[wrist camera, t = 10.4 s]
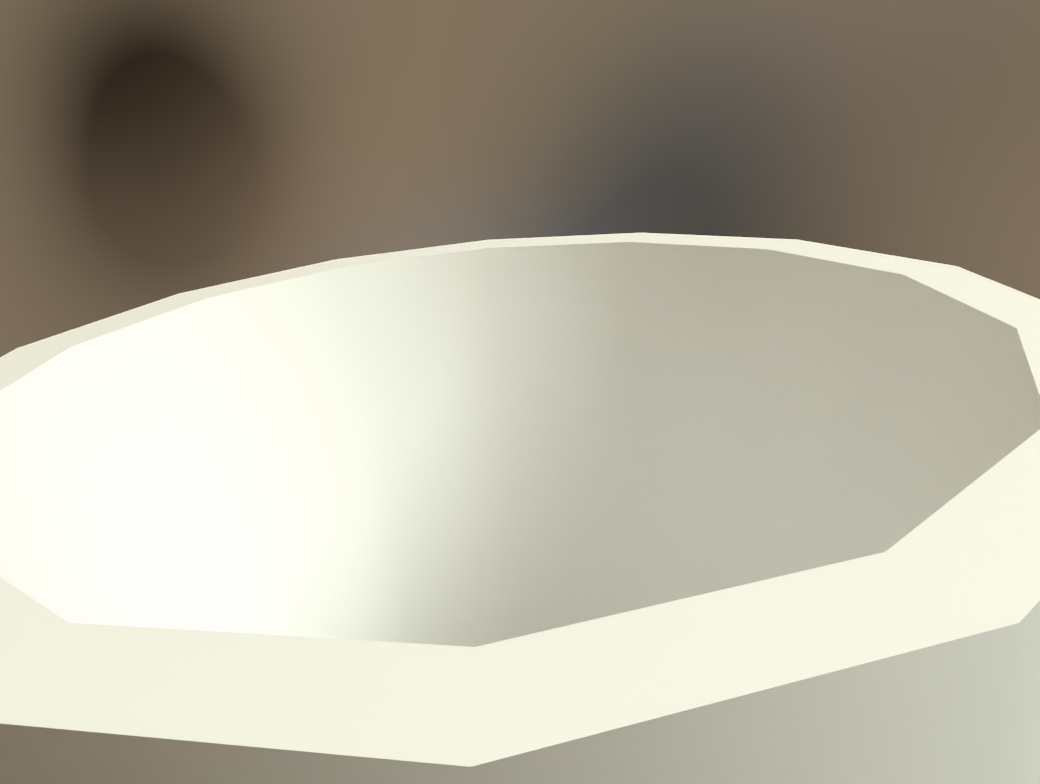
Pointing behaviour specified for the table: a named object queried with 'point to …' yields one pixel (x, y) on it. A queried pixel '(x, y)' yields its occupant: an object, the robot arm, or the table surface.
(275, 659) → the foam cup
